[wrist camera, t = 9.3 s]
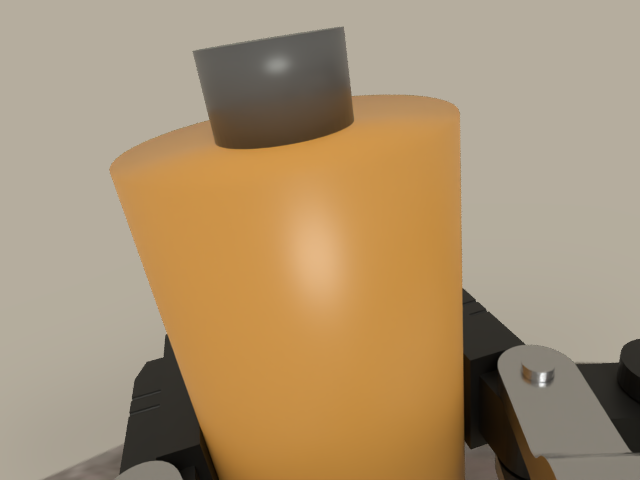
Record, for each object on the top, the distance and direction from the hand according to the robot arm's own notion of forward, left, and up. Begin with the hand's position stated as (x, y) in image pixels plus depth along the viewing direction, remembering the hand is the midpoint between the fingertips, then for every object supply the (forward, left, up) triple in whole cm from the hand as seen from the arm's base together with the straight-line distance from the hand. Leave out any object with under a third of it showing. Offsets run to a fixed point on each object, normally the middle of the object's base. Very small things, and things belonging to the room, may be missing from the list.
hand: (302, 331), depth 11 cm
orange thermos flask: (-1, +2, -7) cm, 7 cm away
